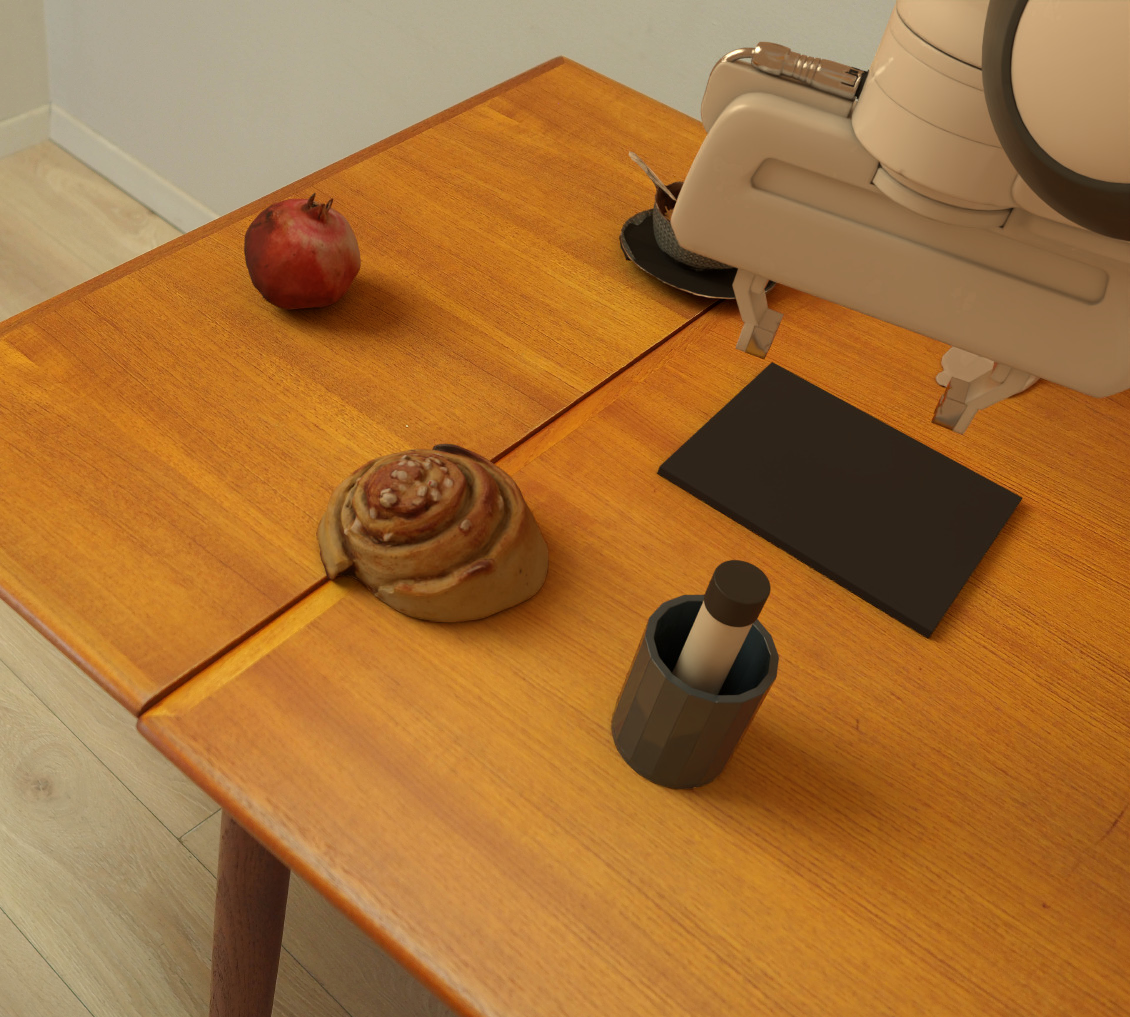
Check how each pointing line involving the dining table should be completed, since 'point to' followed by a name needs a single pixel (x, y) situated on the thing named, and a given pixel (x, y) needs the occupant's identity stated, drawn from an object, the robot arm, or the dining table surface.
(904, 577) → the mat
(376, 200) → the dining table surface
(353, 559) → the pastry
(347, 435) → the dining table surface
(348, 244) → the fruit
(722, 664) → the marker
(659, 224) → the soup bowl
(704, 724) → the pen cup
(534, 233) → the dining table surface
